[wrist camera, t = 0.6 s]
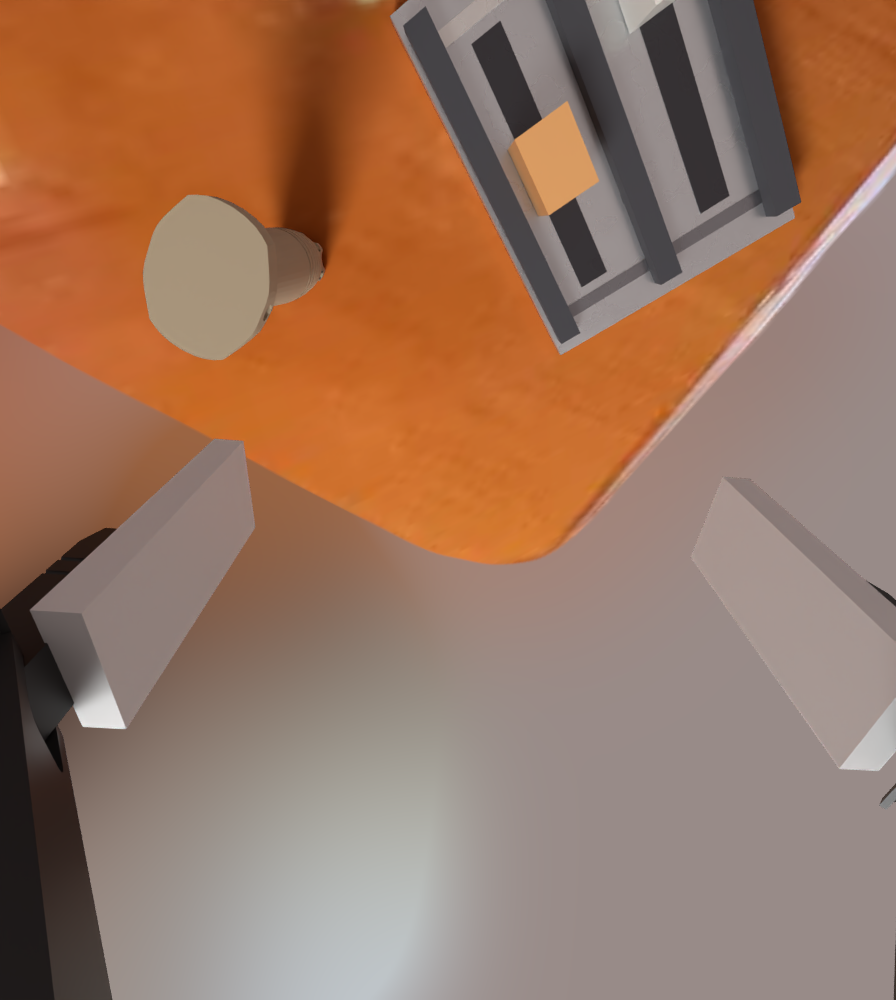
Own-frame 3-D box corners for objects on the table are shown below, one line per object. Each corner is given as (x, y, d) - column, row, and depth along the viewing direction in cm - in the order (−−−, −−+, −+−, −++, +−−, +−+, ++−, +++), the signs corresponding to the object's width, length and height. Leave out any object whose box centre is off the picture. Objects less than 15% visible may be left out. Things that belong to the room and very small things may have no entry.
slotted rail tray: (405, 33, 27) (403, 25, 26) (687, -210, 22) (698, -231, 21) (558, 340, 34) (561, 344, 33) (789, 202, 30) (801, 202, 29)
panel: (393, 25, 28) (389, 15, 26) (669, -215, 23) (682, -242, 22) (556, 350, 36) (560, 355, 35) (780, 217, 32) (795, 217, 31)
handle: (356, 236, 33) (290, 244, 20) (316, 321, 36) (235, 379, 22) (289, 191, 32) (171, 168, 19) (253, 283, 34) (127, 320, 21)
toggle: (507, 149, 29) (514, 139, 26) (553, 116, 28) (567, 100, 25) (538, 216, 31) (548, 215, 27) (582, 186, 30) (599, 181, 26)
